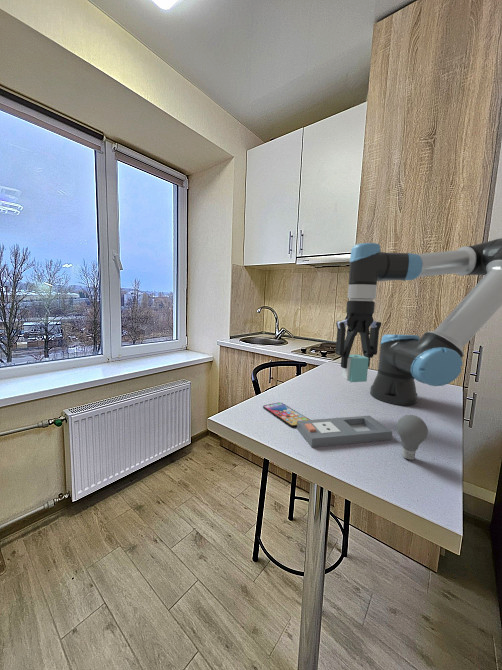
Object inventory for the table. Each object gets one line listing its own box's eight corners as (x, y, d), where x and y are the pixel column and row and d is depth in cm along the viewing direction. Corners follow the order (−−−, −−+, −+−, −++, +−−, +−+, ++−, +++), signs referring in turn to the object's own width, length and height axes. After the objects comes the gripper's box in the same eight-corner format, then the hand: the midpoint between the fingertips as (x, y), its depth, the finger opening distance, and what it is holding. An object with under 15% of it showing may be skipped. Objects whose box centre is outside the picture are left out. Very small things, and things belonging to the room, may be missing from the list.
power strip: (368, 422, 77) (369, 413, 77) (391, 439, 69) (392, 429, 68) (296, 428, 72) (297, 418, 72) (311, 447, 64) (312, 436, 63)
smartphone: (280, 401, 89) (312, 420, 76) (280, 404, 89) (312, 423, 76) (261, 405, 85) (292, 426, 72) (261, 408, 85) (291, 429, 72)
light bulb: (411, 468, 57) (417, 424, 56) (387, 453, 63) (392, 412, 61) (429, 462, 60) (436, 420, 58) (404, 448, 65) (410, 408, 63)
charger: (356, 376, 85) (358, 354, 83) (366, 381, 80) (368, 357, 79) (341, 377, 83) (343, 354, 82) (351, 382, 79) (353, 358, 77)
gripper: (379, 300, 83) (372, 373, 87) (325, 299, 79) (320, 375, 83) (397, 301, 76) (388, 380, 80) (339, 299, 72) (333, 383, 76)
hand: (354, 377), depth 81 cm, fingers closed on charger, 5 cm apart
